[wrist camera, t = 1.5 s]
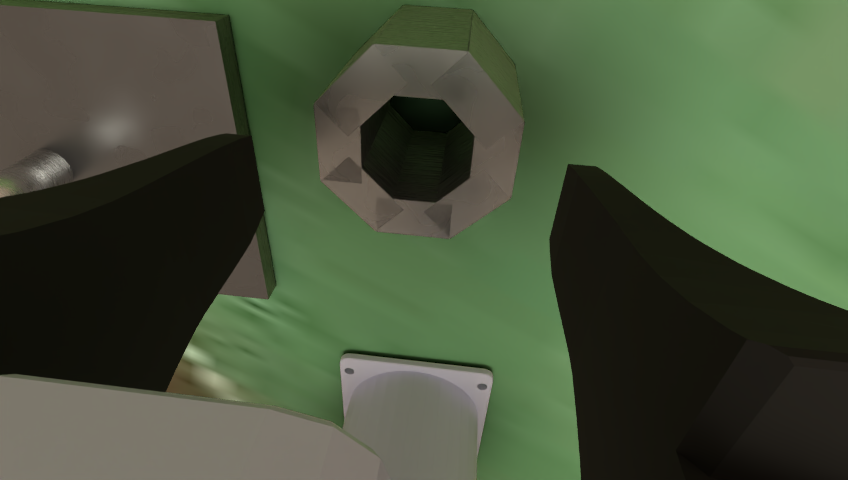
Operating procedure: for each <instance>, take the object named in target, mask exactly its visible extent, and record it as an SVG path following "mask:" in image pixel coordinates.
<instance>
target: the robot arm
mask: <svg viewBox="0 0 848 480" xmlns="http://www.w3.org/2000/svg"><path fill="white" fill-rule="evenodd" d="M264 211H265V210H264V205H263V199H262V193H261V188H260V182H259V176H258V171H257V165H256V159H255V153H254V148H253V142H252V136H250V135H239V134H228V133H225V134H219V135H215V136H211V137H207V138H204V139H201V140H198V141H195V142H192V143H189V144H186V145H183V146H181V147H178V148H175V149H172V150H169V151H167V152H164V153H161V154H158V155H156V156H153V157H150V158H147V159H144V160H141V161H138V162H135V163H132V164H129V165H126V166H123V167H120V168H117V169H114V170H111V171H108V172H105V173H102V174H99V175H95V176H92V177H88V178H85V179H81V180H78V181H74V182H70V183H66V184H62V185H58V186H54V187H50V188H46V189H42V190H37V191H33V192H28V193H22V194H17V195H12V196H6V197H1V198H0V480H477V457H478V452H479V447H480V442H481V437H482V432H483V427H484V423H485V418H486V413H487V408H488V403H489V398H490V393H491V388H492V384H493V373H492V372H491V371H489V370H488V369H483V368H474V367H465V366H457V365H448V364H439V363H431V362H422V361H413V360H404V359H396V358H387V357H378V356H370V355H361V354H352V353H346V354H344V355H342V357H341V360H340V372H341V384H342V396H343V408H344V420H345V421H344V424H343V428H340V427H339V426H338V425H336V424H335V423H333V422H332V421H328V420H324V419H321V418H317V417H314V416H310V415H306V414H303V413H299V412H296V411H292V410H288V409H285V408H281V407H278V406H273V405H265V404H256V403H248V402H240V401H232V400H224V399H216V398H207V397H199V396H191V395H183V394H175V393H167V392H166V390H167V388H168V385H169V383H170V381H171V379H172V377H173V375H174V372H175V370H176V368H177V366H178V364H179V362H180V360H181V358H182V356H183V354H184V352H185V350H186V348H187V346H188V344H189V342H190V340H191V338H192V336H193V334H194V332H195V330H196V328H197V326H198V325H199V323H200V321H201V319H202V318H203V316H204V314H205V313H206V311H207V310H208V308H209V307H210V305H211V304H212V302H213V301H214V299H215V298H216V296H217V295H218V293H219V292H220V290H221V289H222V287H223V285H224V284H225V282H226V281H227V279H228V278H229V276H230V275H231V273H232V272H233V270H234V269H235V267H236V266H237V264H238V263H239V261H240V259H241V258H242V256H243V255H244V253H245V252H246V250H247V248H248V247H249V245H250V243H251V241H252V239H253V237H254V235H255V233H256V231H257V228H258V226H259V223H260V221H261V219H262V216H263V214H264ZM550 258H551V271H552V278H553V283H554V288H555V293H556V297H557V302H558V307H559V311H560V316H561V320H562V325H563V329H564V334H565V338H566V343H567V347H568V352H569V357H570V363H571V368H572V375H573V385H574V395H575V405H576V416H577V428H578V440H579V453H580V468H581V480H848V311H847V310H845V309H842V308H839V307H837V306H834V305H831V304H829V303H826V302H824V301H821V300H818V299H816V298H814V297H811V296H809V295H806V294H804V293H802V292H799V291H797V290H794V289H792V288H790V287H787V286H785V285H783V284H781V283H779V282H777V281H775V280H772V279H770V278H768V277H766V276H764V275H762V274H760V273H757V272H755V271H753V270H751V269H749V268H747V267H745V266H743V265H741V264H739V263H737V262H735V261H734V260H732V259H730V258H728V257H726V256H725V255H723V254H721V253H719V252H718V251H716V250H714V249H712V248H710V247H709V246H707V245H705V244H703V243H702V242H700V241H699V240H697V239H695V238H694V237H692V236H691V235H689V234H688V233H686V232H685V231H683V230H682V229H680V228H679V227H677V226H676V225H674V224H673V223H671V222H670V221H668V220H667V219H666V218H664V217H663V216H661V215H660V214H659V213H657V212H656V211H655V210H653V209H652V208H651V207H649V206H648V205H647V204H645V203H644V202H643V201H641V200H640V199H639V198H638V197H636V196H635V195H634V194H633V193H631V192H630V191H629V190H628V189H626V188H625V187H624V186H623V185H621V184H620V183H619V182H617V181H616V180H615V179H614V178H612V177H611V176H610V175H608V174H607V173H606V172H604V171H603V170H601V169H600V168H598V167H596V166H584V165H573V164H568V167H567V171H566V175H565V179H564V183H563V187H562V191H561V195H560V199H559V203H558V207H557V211H556V215H555V219H554V223H553V227H552V231H551V235H550ZM482 383H483V384H482Z"/></svg>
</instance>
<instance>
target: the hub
mask: <svg viewBox="0 0 848 480" xmlns="http://www.w3.org/2000/svg"><path fill="white" fill-rule="evenodd" d="M393 96H404V97H416V98H428V99H440V100H444V101H445V102H446V103H447V105H448V106H449V107H450V108H451V109H452V110H453V111H454V113H455V114H456V115H457V116H458V117H459V118H460V120H461V121H462V122H460V123H459V124H458V125H457V126H455V127H454V128H453V129H452V130H450V131H449V132H448V133H442V132H431V131H420V130H413V128H412V127H411V126H410V125H409V124H408V123H407V122H406V121H405V120H404V119H403V118H402V117H401V116H400V115H399V113H398V112H397V111H396V110H395V109H394V108H393V107H392V106H391V98H392V97H393ZM314 115H315V126H316V137H317V149H318V160H319V171H320V180H321V181H322V182H323V183H324V184H325V185H326V186H327V187H328V188H329V189H330V190H331V191H332V192H333V193H335V194H336V195H337V196H338V197H339V198H340V199H341V200H342V201H343V202H344V203H345V204H347V205H348V206H349V207H350V208H351V209H352V210H353V211H354V212H355V213H356V214H357V215H359V216H360V217H361V218H362V219H363V220H364V221H365V222H366V223H367V224H368V225H369V226H370V227H372V228H373V229H374V230H375V231H376V230H377V232H386V233H396V234H406V235H416V236H426V237H436V238H446V239H449V238H450V239H451V238H452V237H454V236H455V235H457V234H458V233H460V232H461V231H463V230H464V229H466V228H467V227H469V226H470V225H472V224H473V223H475V222H476V221H478V220H479V219H481V218H482V217H484V216H485V215H487V214H488V213H490V212H491V211H493V210H494V209H496V208H497V207H499V206H500V205H502V204H503V203H505V202H506V201H508V200H510V199H511V197H512V191H513V185H514V180H515V174H516V168H517V163H518V157H519V152H520V146H521V140H522V135H523V129H524V124H525V121H524V115H523V109H522V103H521V97H520V91H519V85H518V79H517V73H516V67H515V64H514V62H513V61H512V60H511V59H510V57H509V56H508V55H507V53H506V52H505V51H504V49H503V48H502V47H501V46H500V44H499V43H498V42H497V40H496V39H495V38H494V36H493V35H492V34H491V33H490V31H489V30H488V29H487V27H486V26H485V25H484V23H483V22H482V21H481V20H480V18H479V17H478V16H477V14H476V13H475V12H474V10H473V11H472V10H469V9H455V8H441V7H427V6H413V5H402V6H401V7H400V8H399V9H398V10H397V11H396V12H395V13H394V14H393V15H392V16H391V17H390V18H389V20H388V21H387V22H386V23H385V24H384V25H383V26H382V27H381V28H380V29H379V30H378V31H377V32H376V33H375V34H374V35H373V36H372V37H371V38H370V39H369V40H368V41H367V42H366V43H365V44H364V45H363V46H362V47H361V48H360V49H359V50H358V51H357V52H356V53H355V54H354V55H353V57H352V58H351V59H350V60H349V61H348V63H347V64H346V65H345V66H344V67H343V69H342V70H341V71H340V72H339V74H338V75H337V76H336V77H335V78H334V80H333V81H332V82H331V83H330V84H329V86H328V87H327V88H326V89H325V90H324V92H323V93H322V94H321V95H320V96H319V98H318V99H317V100H316V101H315V102H314Z"/></svg>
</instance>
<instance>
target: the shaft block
mask: <svg viewBox="0 0 848 480" xmlns="http://www.w3.org/2000/svg"><path fill="white" fill-rule="evenodd" d="M225 133H228V134H239V135H250V134H249V128H248V122H247V116H246V111H245V105H244V99H243V94H242V88H241V82H240V77H239V71H238V65H237V59H236V54H235V48H234V42H233V37H232V31H231V25H230V19H229V15H221V14H208V13H195V12H181V11H168V10H155V9H141V8H128V7H115V6H102V5H88V4H75V3H62V2H48V1H35V0H0V198H1V197H6V196H12V195H17V194H22V193H28V192H33V191H37V190H42V189H46V188H50V187H54V186H58V185H62V184H66V183H70V182H74V181H78V180H81V179H85V178H88V177H92V176H95V175H99V174H102V173H105V172H108V171H111V170H114V169H117V168H120V167H123V166H126V165H129V164H132V163H135V162H138V161H141V160H144V159H147V158H150V157H153V156H156V155H158V154H161V153H164V152H167V151H169V150H172V149H175V148H178V147H181V146H183V145H186V144H189V143H192V142H195V141H198V140H201V139H204V138H207V137H211V136H215V135H219V134H225ZM275 286H276V282H275V276H274V271H273V265H272V259H271V253H270V248H269V242H268V236H267V231H266V225H265V219H264V214H263V216H262V219H261V221H260V223H259V226H258V228H257V231H256V233H255V235H254V237H253V239H252V241H251V243H250V245H249V247H248V248H247V250H246V252H245V253H244V255H243V256H242V258H241V259H240V261H239V263H238V264H237V266H236V267H235V269H234V270H233V272H232V273H231V275H230V276H229V278H228V279H227V281H226V282H225V284H224V285H223V287H222V289H221V290H220V292H219V293H218V294H224V295H233V296H242V297H252V298H261V299H269V297H270V296H271V294H272V292H273V290H274V288H275Z"/></svg>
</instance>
